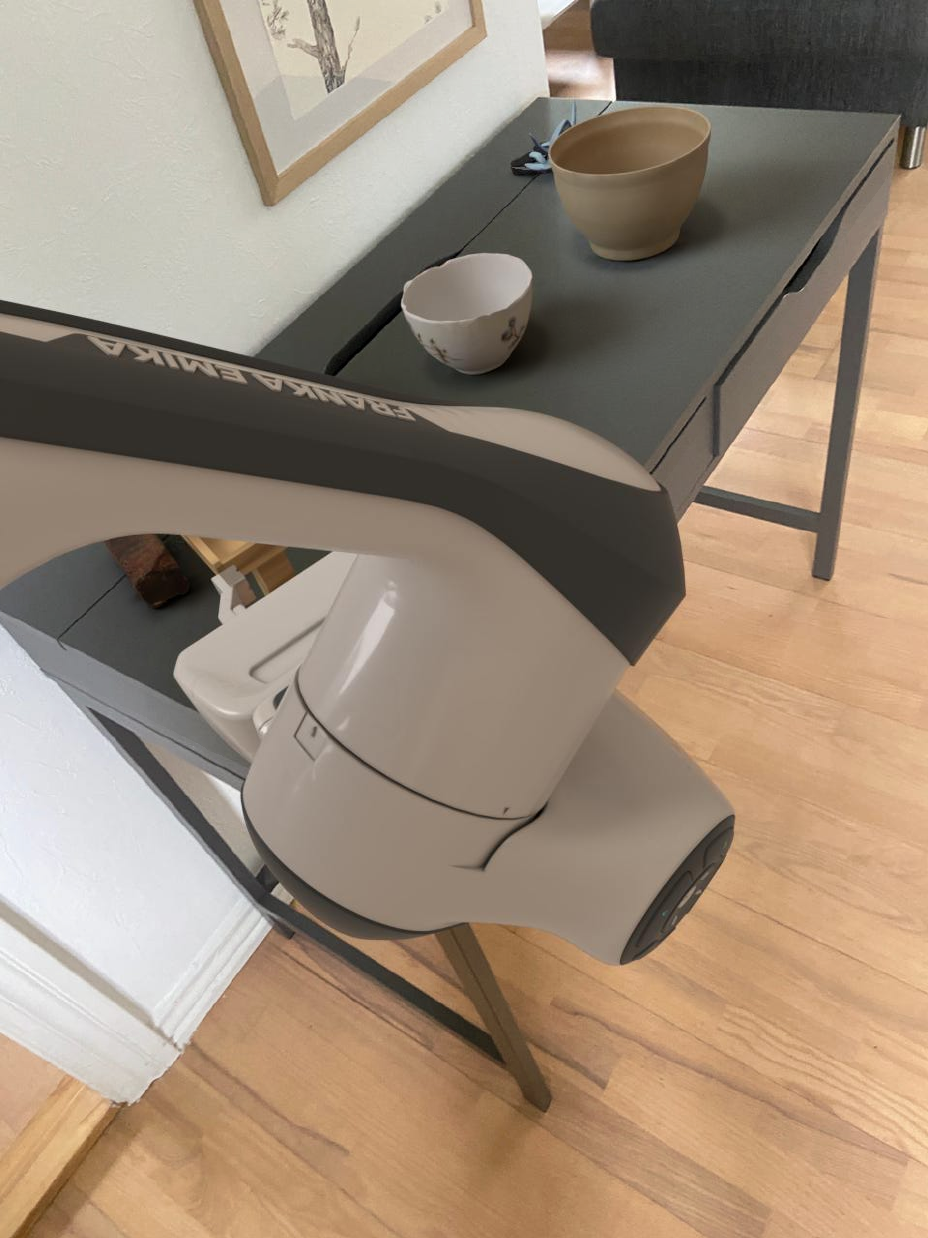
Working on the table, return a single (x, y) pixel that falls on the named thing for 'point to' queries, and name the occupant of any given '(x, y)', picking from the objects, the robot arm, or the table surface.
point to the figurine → (542, 150)
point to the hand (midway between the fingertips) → (296, 534)
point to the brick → (149, 567)
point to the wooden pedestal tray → (246, 559)
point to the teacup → (470, 310)
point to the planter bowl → (632, 177)
